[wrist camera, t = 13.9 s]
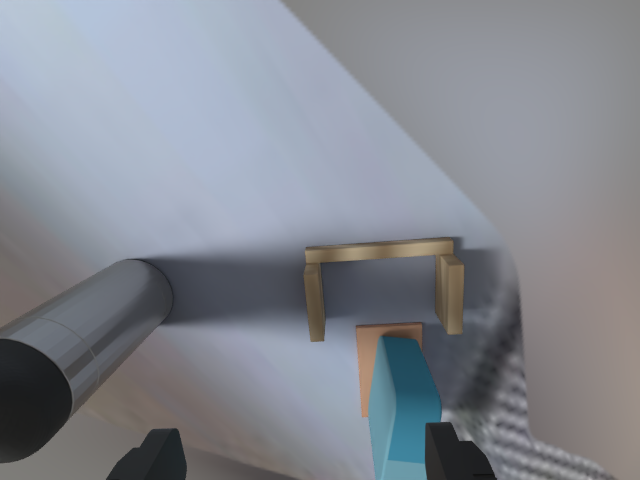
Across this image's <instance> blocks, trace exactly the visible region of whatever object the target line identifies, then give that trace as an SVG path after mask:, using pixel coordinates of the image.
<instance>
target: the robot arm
mask: <svg viewBox="0 0 640 480" xmlns="http://www.w3.org/2000/svg"><path fill="white" fill-rule="evenodd" d="M172 304H173V294H172V290H171V287H170V284H169V282H168V281H167V279H166V278H165V276H164V275H163V274H162V273H161V272H160V271H159V270H158V269H156V268H155V267H154V266H152V265H150V264H148V263H146V262H143V261H139V260H132V259H130V260H122V261H119V262H116V263H114V264H113V265H111V266H109V267H107V268H105V269H104V270H102V271H100V272H98V273H96V274H95V275H93V276H91V277H89V278H87V279H86V280H84V281H82V282H80V283H78V284H77V285H75V286H73V287H71V288H70V289H68V290H66V291H64V292H62V293H61V294H59V295H57V296H55V297H54V298H52V299H50V300H48V301H47V302H45V303H43V304H41V305H39V306H38V307H36V308H34V309H32V310H31V311H29V312H27V313H25V314H23V315H22V316H20V317H18V318H16V319H15V320H13V321H11V322H9V323H8V324H6V325H4V326H3V327H1V328H0V463H9V462H14V461H18V460H21V459H24V458H26V457H28V456H30V455H32V454H34V453H35V452H36V451H38V450H39V449H41V448H42V447H43V446H44V445H45V444H46V443H47V442H48V441H49V440H50V439H51V438H52V437H53V436H54V435H55V434H56V433H57V432H58V431H59V429H61V428H62V427H63V426H64V424H65V423H66V422H67V421H68V420H69V419H70V418H71V417H72V416H73V415H74V414H75V413H76V412H77V411H78V410H79V409H80V407H81V406H82V405H83V404H84V403H85V402H86V401H87V400H88V399H89V398H90V397H91V396H92V395H93V394H94V393H95V392H96V390H97V389H98V388H99V387H100V386H101V385H102V384H103V383H104V382H105V381H106V380H107V379H108V378H109V377H110V376H111V375H112V374H113V373H114V372H115V371H116V369H117V368H118V367H119V366H120V365H121V364H122V363H123V362H124V361H125V360H126V359H127V358H128V357H129V356H130V355H131V354H132V353H133V352H134V351H135V349H136V348H137V347H138V346H139V345H140V344H141V343H142V342H143V341H144V340H145V339H146V338H147V337H148V336H149V335H150V334H151V333H152V332H153V331H154V330H155V329H156V328H157V326H158V325H159V324H160V323H161V322H162V321H163V320H164V319H165V318H166V317H167V315H168V314H169V313H170V310H171V308H172ZM425 469H426V476H427V480H497V478H495V474H494V472H493V470H492V467H491V465H490V463H489V461H488V459H487V457H486V455H485V454H484V453H483V452H482V451H481V450H480V449H479V448H478V447H477V446H476V445H475V444H474V443H473V442H472V441H459V440H458V437H457V435H456V432H455V430H454V428H453V425H452V424H451V422H432V423H426V425H425ZM186 471H187V465H186V460H185V455H184V451H183V447H182V443H181V438H180V434H179V431H178V429H176V428H171V429H152V430H151V431H150V432H149V433H148V435H147V436H146V438H145V440H144V441H143V443H142V444H141V446H140V448H133V449H132V450H130V451H129V452H128V453H127V454H126V455H125V456H124V457H123V458H122V459H121V460H120V461H118V462H117V464H116V465H115V467H114V468H113V470H112V471H111V473H110V474H109V476H108V477H107V479H106V480H185V478H186Z"/></svg>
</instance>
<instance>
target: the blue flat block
mask: <svg viewBox="0 0 640 480" xmlns="http://www.w3.org/2000/svg"><path fill="white" fill-rule="evenodd" d="M441 414H442V408H441V400H440V396H439V393H438V391H437V388H436V386H435V383H434V381H433V378H432V376H431V373H430V371H429V368H428V366H427V363H426V361H425V358H424V356H423V353H422V351H421V348H420V346H419V343H418V341H417V340H416V339H409V338H398V337H388V336H380V337H379V339H378V343H377V349H376V356H375V363H374V369H373V376H372V383H371V390H370V396H369V404H368V418H369V426H370V435H371V444H372V452H373V461H374V469H375V478H376V480H427V476H426V469H425V425H426V423H432V422H440V421H441Z"/></svg>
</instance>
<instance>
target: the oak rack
mask: <svg viewBox="0 0 640 480" xmlns="http://www.w3.org/2000/svg"><path fill="white" fill-rule="evenodd" d="M427 255H436V282H435V313H436V314H437V316H438V318H439V320H440V322H441V323H442V325H443V327H444V329H445V330H446V332H447V334H448V335H453V334H462V323H463V291H464V264H463V263H462V262H461V261H460V260H459V259H458V258H457V257H456V256H455V255H454V254H453V240H452V239H451V238H450V237H444V238H429V239H415V240H401V241H387V242H373V243H359V244H344V245H330V246H316V247H306V249H305V257H306V267H305V271H304V275H303V276H304V285H305V294H306V303H307V313H308V322H309V331H310V340H311V342H318V341H324V334H325V309H324V298H323V287H322V277H321V266H320V263H323V262H338V261H352V260H367V259H382V258H397V257H412V256H427Z"/></svg>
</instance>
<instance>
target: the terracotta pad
mask: <svg viewBox="0 0 640 480" xmlns="http://www.w3.org/2000/svg"><path fill="white" fill-rule="evenodd" d="M356 332H357V348H358V363H359V378H360V393H361V408H362V417H368V404H369V396H370V390H371V383H372V376H373V369H374V363H375V356H376V349H377V343H378V339H379V337H380V336H388V337H398V338H409V339H416V340H417V341H418V343H419V346H420V348H421V351H422V324H421V322H417V323H399V324H381V325H362V326H356Z"/></svg>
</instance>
